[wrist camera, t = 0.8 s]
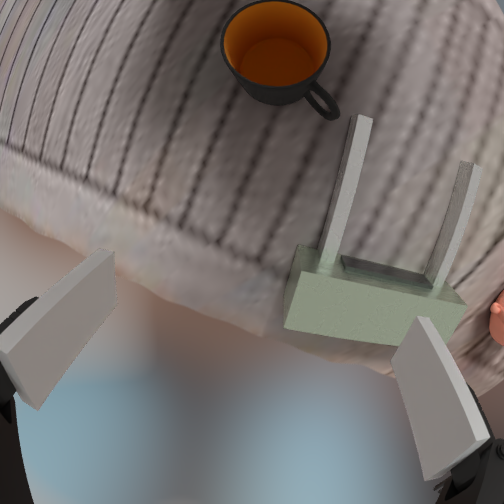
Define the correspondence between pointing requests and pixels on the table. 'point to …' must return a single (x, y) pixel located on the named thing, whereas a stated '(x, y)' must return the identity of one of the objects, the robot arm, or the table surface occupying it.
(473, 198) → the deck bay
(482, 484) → the robot arm
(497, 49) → the table surface
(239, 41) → the mug
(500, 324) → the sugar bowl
